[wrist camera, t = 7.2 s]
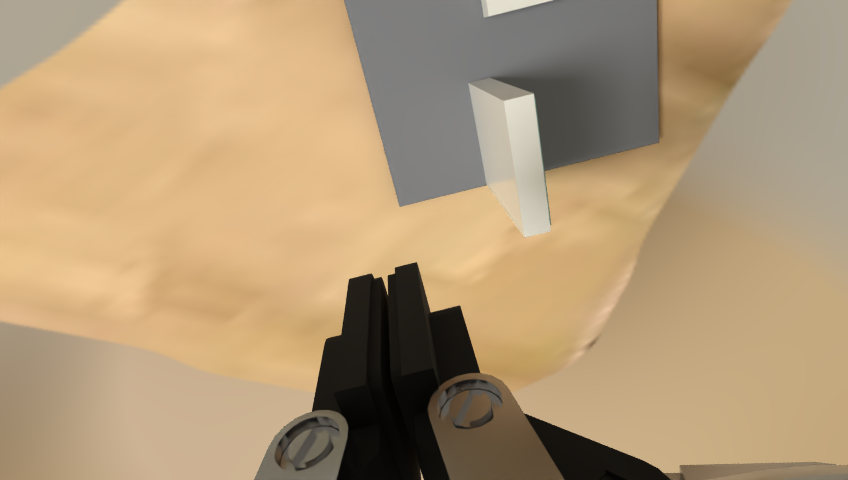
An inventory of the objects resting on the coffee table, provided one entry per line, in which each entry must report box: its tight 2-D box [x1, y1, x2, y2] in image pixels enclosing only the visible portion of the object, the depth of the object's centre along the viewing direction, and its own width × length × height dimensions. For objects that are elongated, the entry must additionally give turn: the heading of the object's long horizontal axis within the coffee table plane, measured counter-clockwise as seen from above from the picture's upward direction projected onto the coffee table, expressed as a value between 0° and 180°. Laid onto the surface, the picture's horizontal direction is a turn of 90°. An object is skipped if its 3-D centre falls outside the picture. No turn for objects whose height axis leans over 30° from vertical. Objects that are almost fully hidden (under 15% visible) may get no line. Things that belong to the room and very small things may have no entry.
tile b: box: [468, 78, 551, 238], centre depth 23 cm, size 6×1×8 cm, turn 13°
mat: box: [344, 0, 659, 207], centre depth 25 cm, size 16×16×1 cm
